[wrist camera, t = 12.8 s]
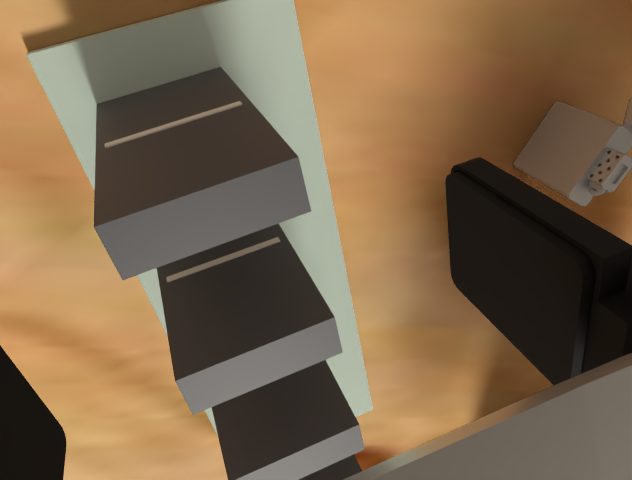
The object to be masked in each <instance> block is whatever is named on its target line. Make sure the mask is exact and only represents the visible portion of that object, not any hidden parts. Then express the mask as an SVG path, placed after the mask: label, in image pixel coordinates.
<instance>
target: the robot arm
mask: <svg viewBox="0 0 632 480" xmlns="http://www.w3.org/2000/svg"><path fill="white" fill-rule="evenodd" d="M446 199H447V216H448V233H449V249H450V266H451V276H452V279H453V282H454V284H455V285H456V287H457V288H458V289H459V290H460V291H461V292H462V293H463V294H464V295H465V296H466V297H467V298H468V299H469V300H470V301H471V302H472V303H473V304H474V305H475V306H476V307H477V308H478V309H479V310H480V311H481V312H482V313H483V314H484V315H485V317H486V318H487V319H488V320H489V321H490V322H491V323H492V324H493V325H494V326H495V327H496V328H497V329H498V330H499V331H500V332H501V333H502V334H503V335H504V336H505V337H506V338H507V339H508V340H509V341H510V342H511V343H512V344H513V345H514V346H515V347H516V348H517V349H518V350H519V351H520V352H521V353H522V354H523V355H524V356H525V357H526V358H527V359H528V360H529V361H530V362H531V363H532V364H533V365H534V366H535V367H536V368H537V369H538V370H539V371H540V372H541V373H542V374H543V375H544V376H545V377H546V378H547V379H548V380H549V381H550V382H551V383H552V384H553V385H554V386H552V387H549V388H547V389H545V390H542V391H540V392H538V393H536V394H533V395H531V396H529V397H527V398H524V399H522V400H520V401H518V402H516V403H513V404H511V405H509V406H507V407H504V408H502V409H500V410H498V411H495V412H493V413H491V414H489V415H486V416H484V417H482V418H480V419H477V420H475V421H473V422H471V423H468V424H466V425H464V426H462V427H459V428H457V429H455V430H453V431H450V432H448V433H446V434H444V435H441V436H439V437H437V438H435V439H432V440H430V441H428V442H426V443H423V444H421V445H419V446H417V447H415V448H412V449H410V450H408V451H406V452H403V453H401V454H399V455H397V456H395V457H392V458H390V459H388V460H386V461H384V462H381V463H379V464H377V465H375V466H372V467H370V468H368V469H366V470H364V471H361V472H359V473H357V474H355V475H352V476H350V477H348V478H346V479H344V480H632V245H630V244H628V243H626V242H625V241H623V240H621V239H620V238H618V237H616V236H614V235H613V234H611V233H609V232H608V231H606V230H604V229H602V228H601V227H599V226H597V225H596V224H594V223H592V222H590V221H589V220H587V219H585V218H584V217H582V216H580V215H578V214H577V213H575V212H573V211H572V210H570V209H568V208H566V207H565V206H563V205H561V204H560V203H558V202H556V201H554V200H553V199H551V198H549V197H548V196H546V195H544V194H542V193H541V192H539V191H537V190H536V189H534V188H532V187H531V186H529V185H527V184H525V183H524V182H522V181H520V180H519V179H517V178H515V177H513V176H512V175H510V174H508V173H507V172H505V171H503V170H501V169H500V168H498V167H496V166H495V165H493V164H491V163H489V162H488V161H486V160H484V159H482V158H475V159H472V160H469V161H466V162H464V163H461V164H458V165H455V166H454V167H453V168H452V170H451V174H449V175H448V176H447V177H446ZM65 453H66V437H65V433H64V431H63V428H62V427H61V425H60V424H59V422H58V421H57V420H56V419H55V417H54V416H53V415H52V413H51V412H50V411H49V409H48V408H47V407H46V405H45V404H44V403H43V401H42V400H41V399H40V397H39V396H38V395H37V393H36V392H35V391H34V389H33V388H32V387H31V386H30V384H29V383H28V382H27V380H26V379H25V378H24V376H23V375H22V374H21V372H20V371H19V370H18V368H17V367H16V366H15V364H14V363H13V362H12V360H11V359H10V358H9V357H8V355H7V354H6V353H5V351H4V350H3V349H2V347H1V346H0V480H63V474H64V463H65Z"/></svg>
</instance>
